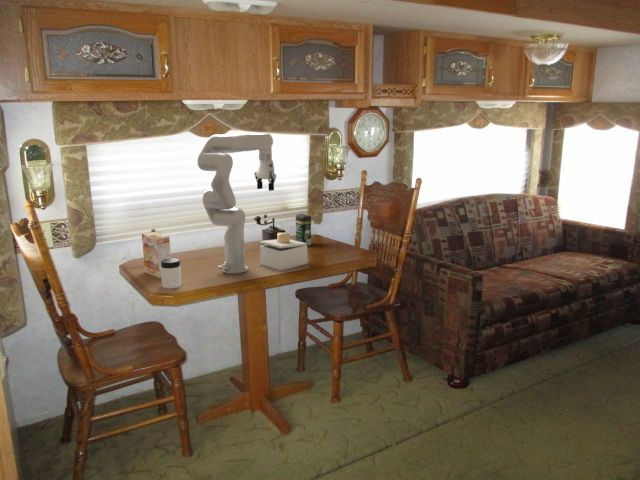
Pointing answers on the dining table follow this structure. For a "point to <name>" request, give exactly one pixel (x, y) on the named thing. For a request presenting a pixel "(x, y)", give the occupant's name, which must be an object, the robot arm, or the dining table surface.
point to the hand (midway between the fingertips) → (265, 189)
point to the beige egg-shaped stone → (283, 237)
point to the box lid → (284, 245)
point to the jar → (171, 273)
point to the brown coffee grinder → (269, 230)
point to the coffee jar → (303, 228)
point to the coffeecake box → (155, 252)
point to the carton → (283, 257)
